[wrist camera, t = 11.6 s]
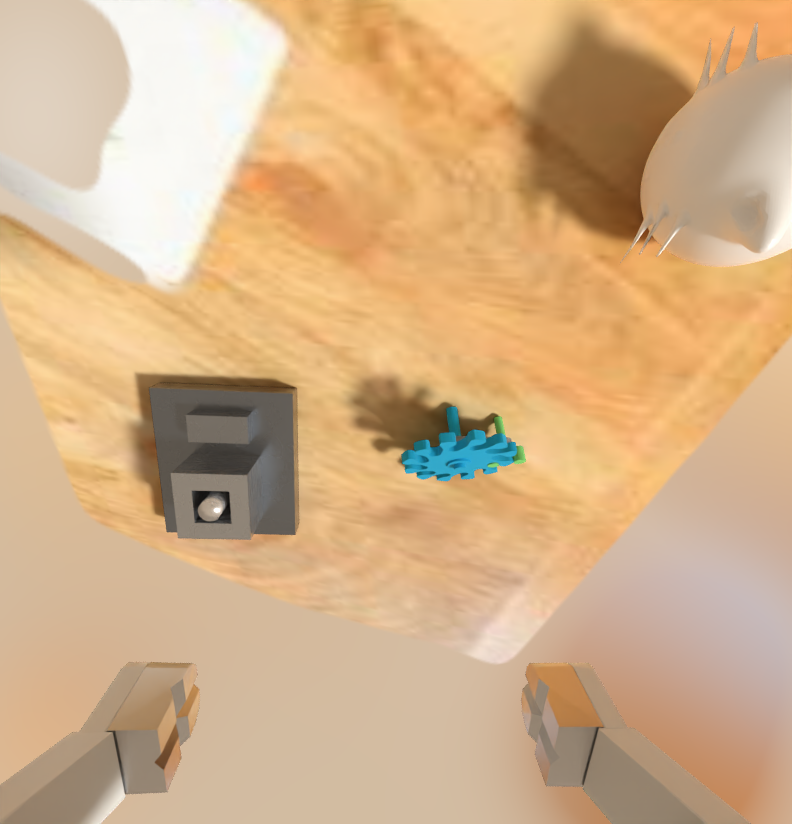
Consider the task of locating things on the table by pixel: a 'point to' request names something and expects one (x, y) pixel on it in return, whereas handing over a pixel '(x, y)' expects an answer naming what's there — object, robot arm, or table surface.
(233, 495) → the collar
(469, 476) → the gear
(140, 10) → the table surface
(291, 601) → the table surface
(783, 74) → the cat head
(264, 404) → the shaft stand
